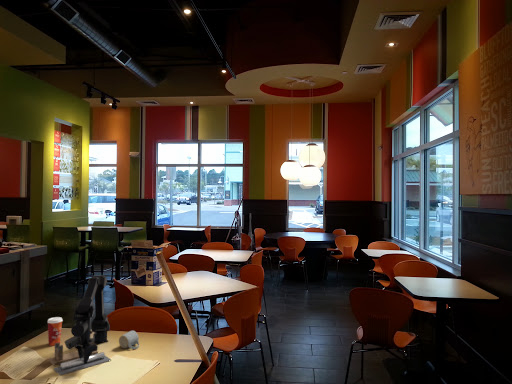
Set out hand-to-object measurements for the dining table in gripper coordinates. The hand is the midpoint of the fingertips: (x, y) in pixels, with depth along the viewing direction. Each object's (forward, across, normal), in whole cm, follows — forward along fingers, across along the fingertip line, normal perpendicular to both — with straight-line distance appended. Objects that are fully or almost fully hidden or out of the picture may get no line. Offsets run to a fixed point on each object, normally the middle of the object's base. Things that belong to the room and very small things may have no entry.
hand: (83, 361), depth 183 cm
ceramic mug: (+2, -6, +28) cm, 29 cm away
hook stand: (+2, -12, 0) cm, 12 cm away
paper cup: (+2, -39, -1) cm, 39 cm away
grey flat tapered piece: (+2, 0, 0) cm, 2 cm away
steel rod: (+1, 0, 0) cm, 1 cm away
